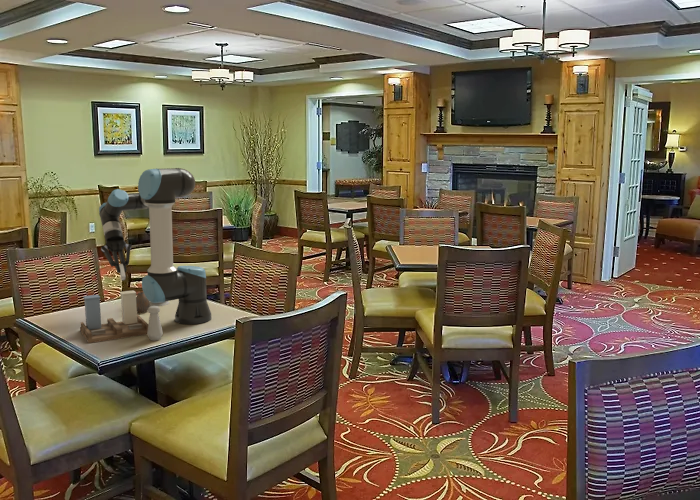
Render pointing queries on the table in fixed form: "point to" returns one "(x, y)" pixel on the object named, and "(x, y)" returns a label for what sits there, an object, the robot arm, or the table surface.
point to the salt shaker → (154, 324)
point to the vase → (142, 303)
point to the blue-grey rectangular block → (92, 311)
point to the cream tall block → (129, 307)
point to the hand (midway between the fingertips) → (123, 278)
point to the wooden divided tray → (114, 330)
